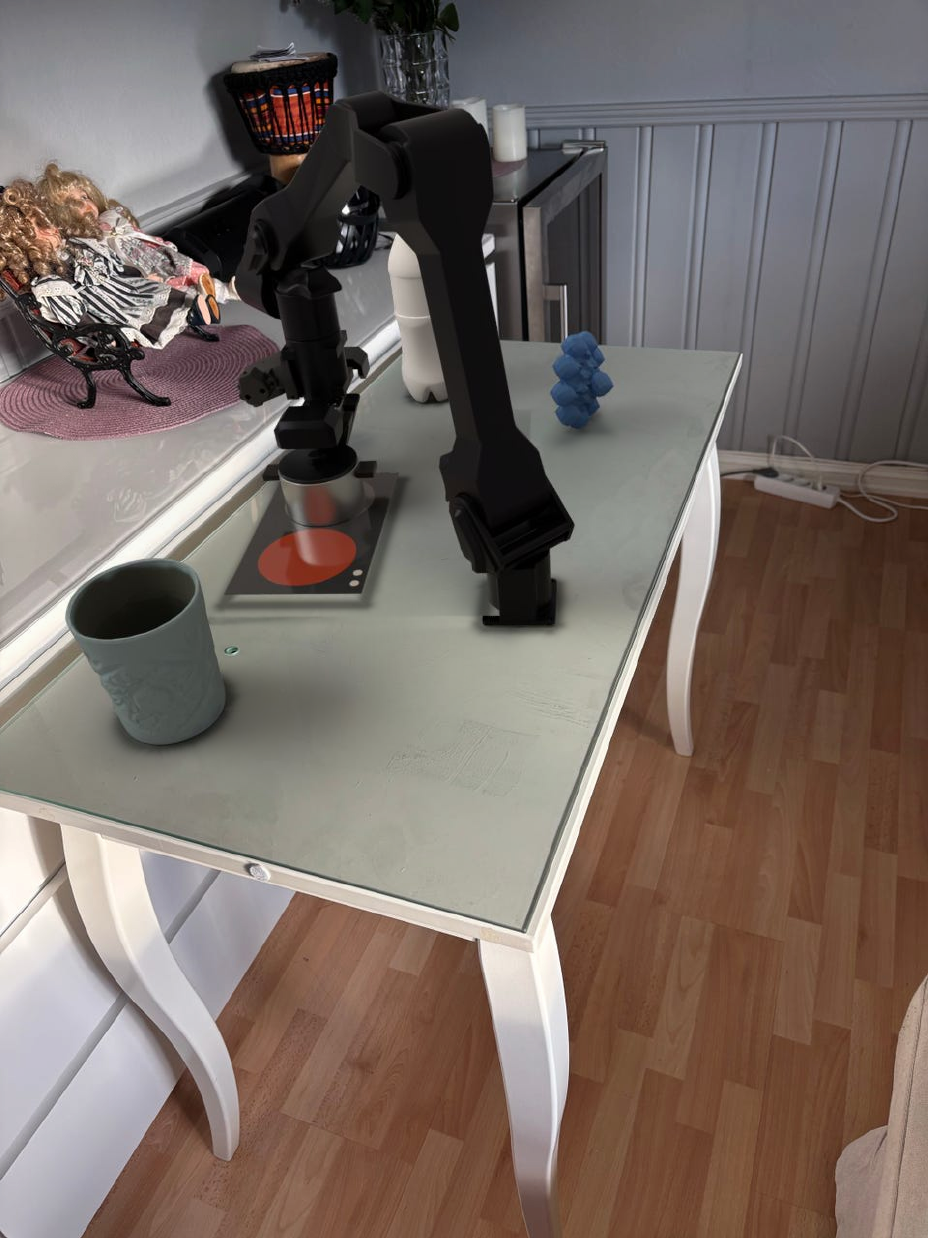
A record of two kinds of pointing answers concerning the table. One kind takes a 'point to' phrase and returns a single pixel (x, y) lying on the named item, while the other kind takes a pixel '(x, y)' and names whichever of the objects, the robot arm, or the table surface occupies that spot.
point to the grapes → (579, 380)
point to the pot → (322, 484)
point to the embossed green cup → (151, 647)
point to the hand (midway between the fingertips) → (338, 465)
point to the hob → (313, 548)
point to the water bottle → (414, 325)
